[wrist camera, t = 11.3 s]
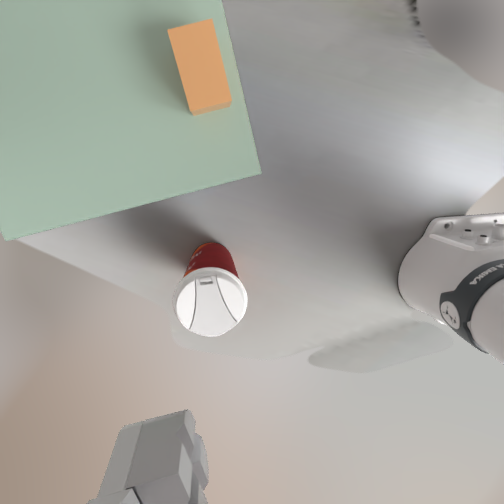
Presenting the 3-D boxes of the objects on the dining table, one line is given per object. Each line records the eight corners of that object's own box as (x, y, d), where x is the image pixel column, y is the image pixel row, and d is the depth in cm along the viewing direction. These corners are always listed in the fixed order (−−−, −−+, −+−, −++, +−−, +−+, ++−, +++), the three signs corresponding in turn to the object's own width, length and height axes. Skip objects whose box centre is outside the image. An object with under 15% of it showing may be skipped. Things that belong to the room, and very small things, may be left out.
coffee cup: (179, 238, 48) (164, 277, 34) (235, 231, 49) (244, 267, 35) (189, 290, 51) (178, 347, 37) (242, 283, 51) (252, 336, 37)
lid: (208, -51, 25) (206, -100, 20) (259, 172, 30) (268, 178, 25) (-95, 24, 24) (-174, -7, 19) (13, 237, 29) (-27, 256, 24)
